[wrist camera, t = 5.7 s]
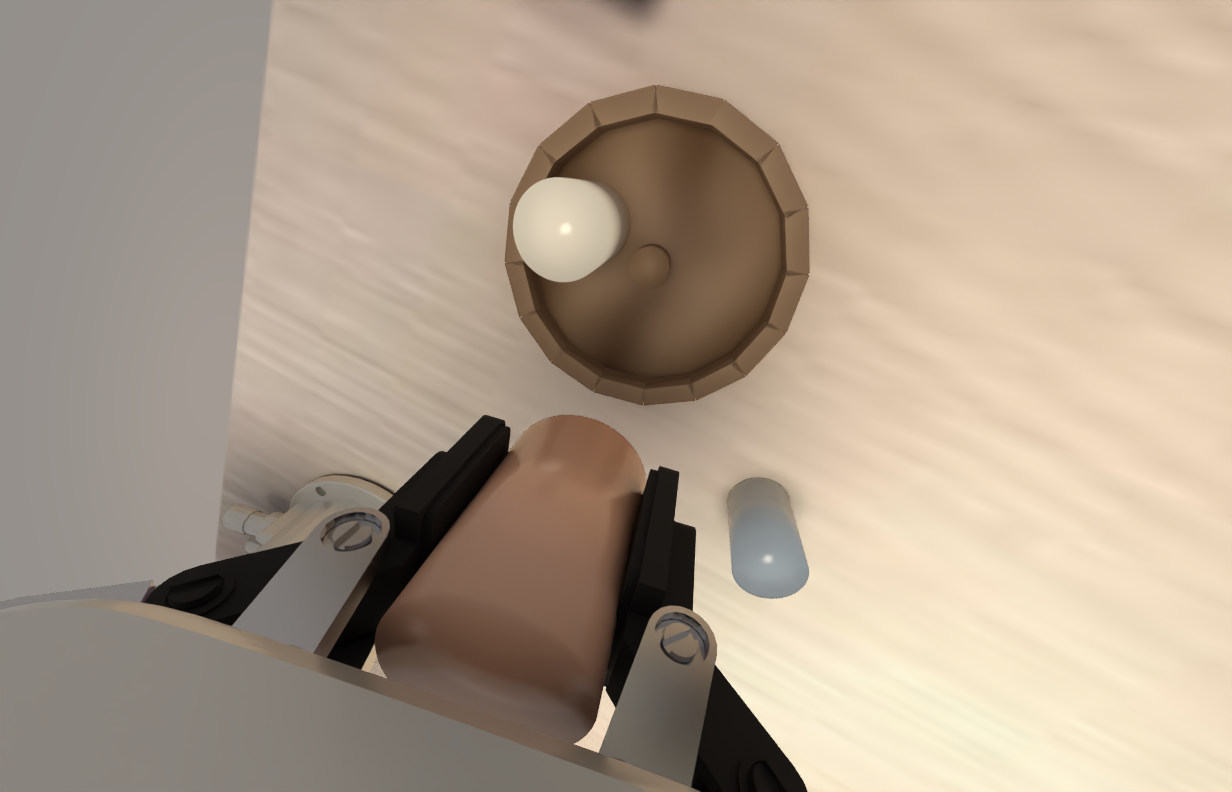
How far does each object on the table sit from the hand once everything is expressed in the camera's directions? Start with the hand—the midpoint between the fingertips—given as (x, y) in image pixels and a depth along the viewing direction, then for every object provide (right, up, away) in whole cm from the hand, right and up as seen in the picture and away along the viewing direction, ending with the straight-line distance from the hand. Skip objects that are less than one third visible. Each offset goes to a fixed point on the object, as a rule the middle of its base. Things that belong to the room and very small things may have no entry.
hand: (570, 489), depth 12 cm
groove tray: (+3, +10, +12) cm, 16 cm away
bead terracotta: (0, 0, +1) cm, 1 cm away
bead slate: (+11, -5, +17) cm, 21 cm away
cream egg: (0, +12, +11) cm, 16 cm away
